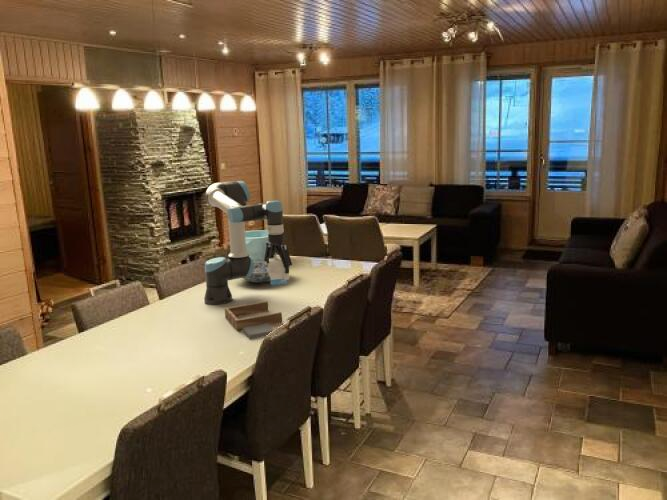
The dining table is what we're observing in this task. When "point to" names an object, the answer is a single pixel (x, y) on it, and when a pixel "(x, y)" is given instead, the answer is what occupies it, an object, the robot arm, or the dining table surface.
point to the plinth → (257, 330)
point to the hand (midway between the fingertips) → (278, 277)
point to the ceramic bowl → (259, 273)
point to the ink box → (276, 271)
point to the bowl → (256, 244)
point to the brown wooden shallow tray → (250, 309)
